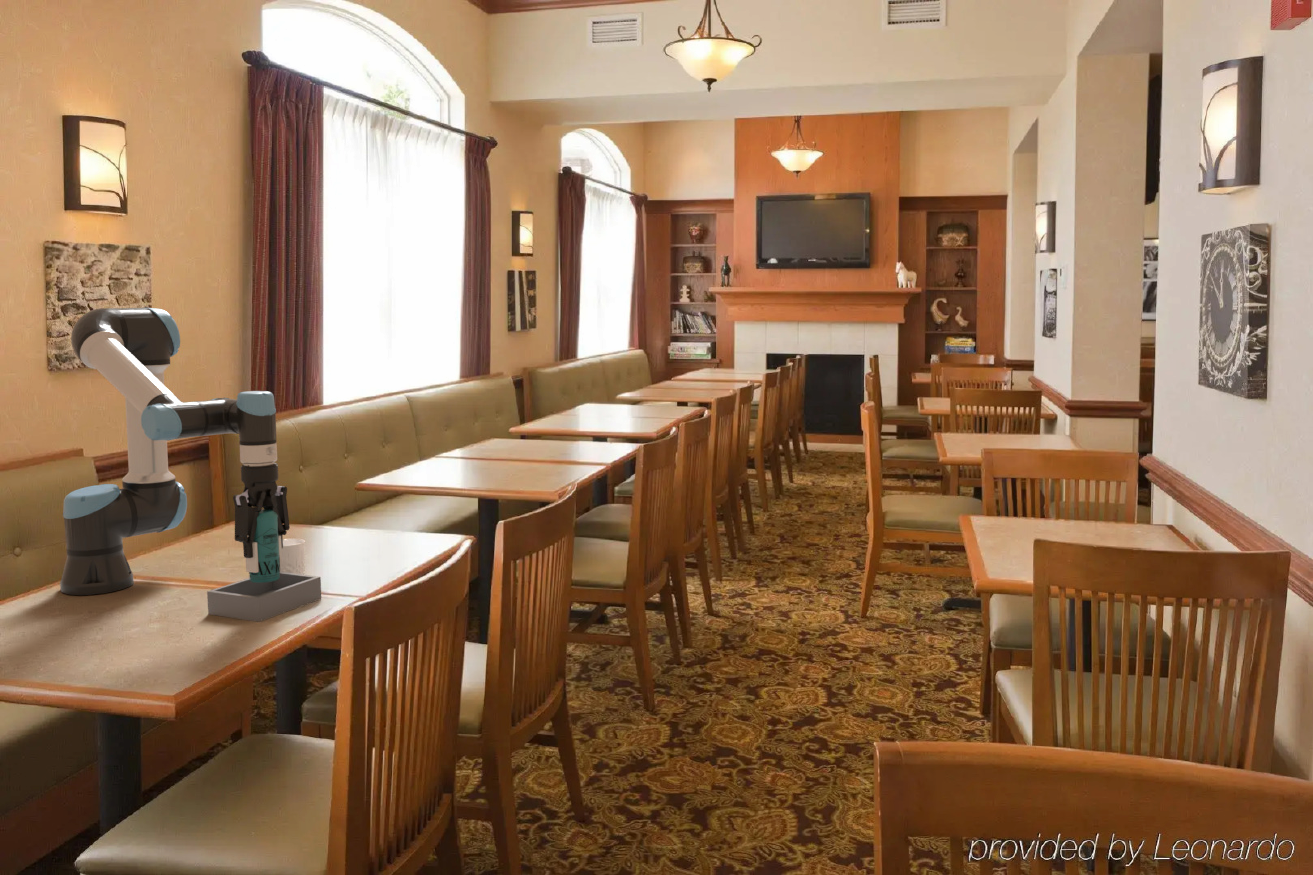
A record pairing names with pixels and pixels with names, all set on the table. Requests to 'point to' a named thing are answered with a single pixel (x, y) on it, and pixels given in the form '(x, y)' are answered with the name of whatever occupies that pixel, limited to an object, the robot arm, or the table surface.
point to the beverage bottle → (267, 545)
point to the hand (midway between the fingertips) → (264, 567)
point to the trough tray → (263, 597)
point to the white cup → (293, 556)
